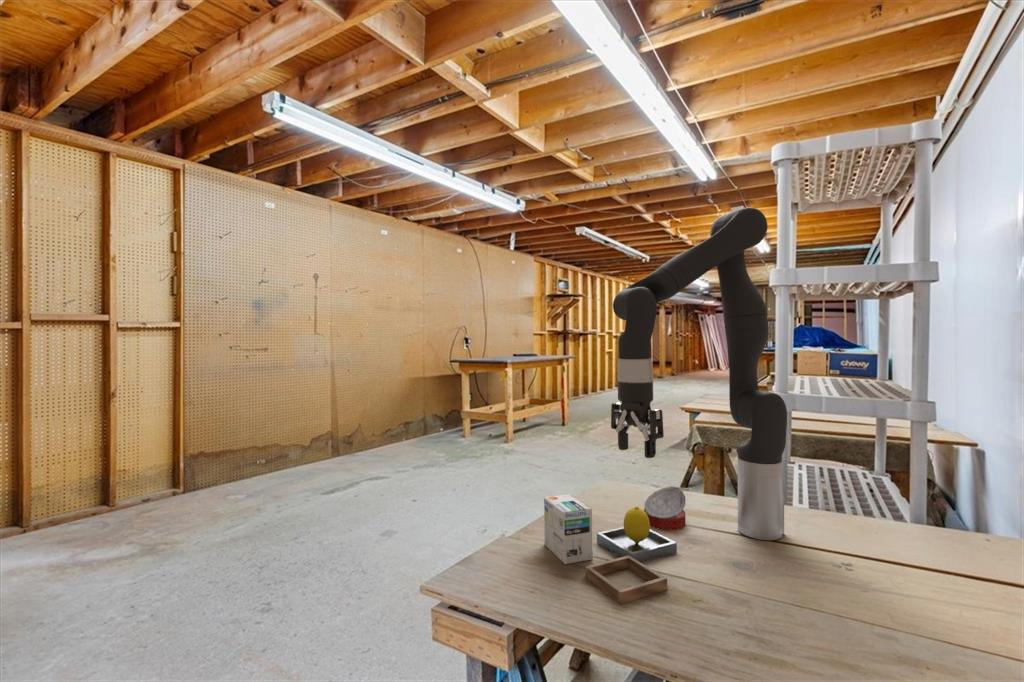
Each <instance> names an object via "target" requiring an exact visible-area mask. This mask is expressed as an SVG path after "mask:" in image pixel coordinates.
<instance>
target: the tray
mask: <svg viewBox="0 0 1024 682" xmlns="http://www.w3.org/2000/svg"><path fill="white" fill-rule="evenodd" d="M596 543H597V544H598V545H600V546H601V547H603V548H605V549H606V550H608V552H609V551H610V552H611V553H612V554H614V555H616V556H617V557H618V558H621V557H625V556H628V555H629V556H631V557H632V558H634V559H636V560H637V561H639V562H641V563H642V564H643V563H645V562H649V561H652V560H656V559H657V560H658V559H660V558H664V557H668V556H670V555H676V554H678V553H677V552H678V542H677V541H674V540H672V539H670V538H668V537H666V536H664V535H662V534H660V533H658V532H656V531H655V530H653V529H651V528H650V531H649V534H648V536H647V538H646V539H645V540H643V541H640V542H639V543H638V544H636V543H635V542H634V541H633V540H631V539H629V538H628V536H627V535H626V533H625V530H624V526H622V527H617V528H613V529H608V530H603V531H599V532H596Z"/></svg>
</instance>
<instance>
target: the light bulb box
mask: <svg viewBox="0 0 1024 682" xmlns="http://www.w3.org/2000/svg"><path fill="white" fill-rule="evenodd" d="M543 509H544V510H543V511H544V513H543V514H544V515H543V517H544V520H543V521H544V525H543V527H544V545H545V546H546V547H547V548H548V549H549V550H550V551H551V552H552V554H554V555H555V556H556V557H557V558H558V559H559V560H560V561H561V562H562V563H563V564H564V565H568V564H574V563H579V562H584V561H591V560H593V559H594V558H593V553H594V552H593V509H592V508H591V507H590V506H588V505H587V504H585V503H583V502H582V501H580V500H579V499H577V498H576V497H574V496H573V495H571V493H569V494H568V493H567V494H559V495H550V496H544V497H543Z"/></svg>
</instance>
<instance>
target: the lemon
mask: <svg viewBox="0 0 1024 682" xmlns="http://www.w3.org/2000/svg"><path fill="white" fill-rule="evenodd" d="M623 527H624V530H625V533H626V535H627V536H628V538H629V539H631V540H633V541H634V542H635V543H636V544H638V543H639V542H640V541H643V540H645V539H646V538H647V536H648V534H649V531H650V529H651V527H650V523H649V518H648V516H647V514H646V513H645V512H644V509H642V508H640V507H639V506H634V507H632V508H630V509H629V510H628V511H626V513H625V516H624V519H623Z"/></svg>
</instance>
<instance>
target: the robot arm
mask: <svg viewBox="0 0 1024 682" xmlns="http://www.w3.org/2000/svg"><path fill="white" fill-rule="evenodd" d="M767 232H768V220H767V217H766V216H765V214H764V213H763V212H762V211H761V210H759V209H758V208H754V207H742V208H738V209H735V210H732V211H730V212H728V213H724V214H722V215H720V216H718V217H717V218H716V219H715V220H714V221H713V223H712V225H711V227H710V237H707V238H706V239H705V240H703V241H702V242H700V243H698V244H696V245H695V246H693V247H690V248H689V249H686V250H684V251H682V252H681V253H679V254H677V255H676V256H674V257H672V258H671V259H669V260H668V261H666V262H664V263H663V264H662V265H661V266H659V267H657V268H656V269H655V270H654V271H652V272H651V273H649V274H648V275H647V276H645V277H643V278H641V279H640V280H639V279H638V280H637V281H636V282H634V283H632V284H630V285H628V286H627V287H625V288H624V289H622V290H621V291H620V292H618V293H617V295H616V296H614V300H613V302H612V310H613V313H614V314H615V316H616V317H617V318H619V319H621V320H623V321H625V325H624V326H625V327H624V331H623V332H622V333H620V335H619V336H618V342H617V346H618V355H617V356H618V361H617V399H618V401H619V402H613V403H611V405H610V406H611V407H610V408H611V409H610V411H611V412H610V413H611V416H610V417H611V418H610V428H611V429H612V430H615V432H616V433H617V445H618V449H619V451H626V450H628V449H629V433H628V431H629V430H630V428H631V426H633V427H635V428H637V430H638V431H639V432H641V433H642V435H643V438H644V457H645V458H646V459H652V458H655V457H656V453H657V443H656V442H657V440H658V439H663V438H664V436H665V434H664V421H663V420H664V417H663V410H662V409H660V408H658V409H652V407H651V403H652V402H653V400H654V369H653V360H652V338H653V337H652V336H653V333H654V329H655V324H656V318H657V312H658V306H657V305H658V303H660V302H664V301H666V300H668V299H670V298H673V297H674V296H676V295H677V294H678V293H680V292H681V291H683V290H684V289H685V288H687V287H688V286H689V285H691V284H692V283H694V282H695V281H696V280H698V279H699V278H702V276H703V275H705V274H706V273H707V272H709V271H711V270H712V269H714V268H716V271H717V275H718V281H719V289H720V296H721V297H720V298H721V302H722V303H721V304H722V315H723V316H722V317H723V325H724V334H725V338H726V348H727V349H726V350H727V359H728V361H727V363H728V372H729V373H728V375H729V378H728V379H729V390H728V391H729V394H728V395H729V409H730V410H729V411H730V415H731V418H732V420H733V421H734V422H735V423H736V424H737V425H738V426H740V427H744V428H746V429H750V430H751V434H750V440H749V441H748V442H745V443H741V444H739V445H738V447H737V530H738V531H739V533H741V534H742V535H744V536H745V537H748V538H752V539H756V540H760V541H776V540H780V539H782V537H783V534H785V493H784V492H783V464H782V463H783V453H785V452H784V451H785V449H786V443H787V430H788V429H787V427H788V410H787V406H786V402H785V400H784V399H783V398H782V396H781V395H780V394H778V393H775V392H771V391H770V392H769V391H765V390H760V389H759V383H758V364H759V361H760V358H761V356H762V353H763V351H764V350H765V347H766V344H767V341H768V339H769V334H770V333H769V330H770V329H769V320H768V319H769V318H768V312H767V306H766V303H765V301H764V299H763V297H762V295H761V293H760V292H759V290H758V289H757V287H756V285H755V284H754V282H753V281H752V279H751V278H750V275H749V273H748V270H747V266H746V257H745V251H746V250H747V249H748V250H749V249H751V248H753V247H755V246H757V245H759V244H760V243H761V242H762V241H763V240H764V238H765V236H766V235H767Z"/></svg>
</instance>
